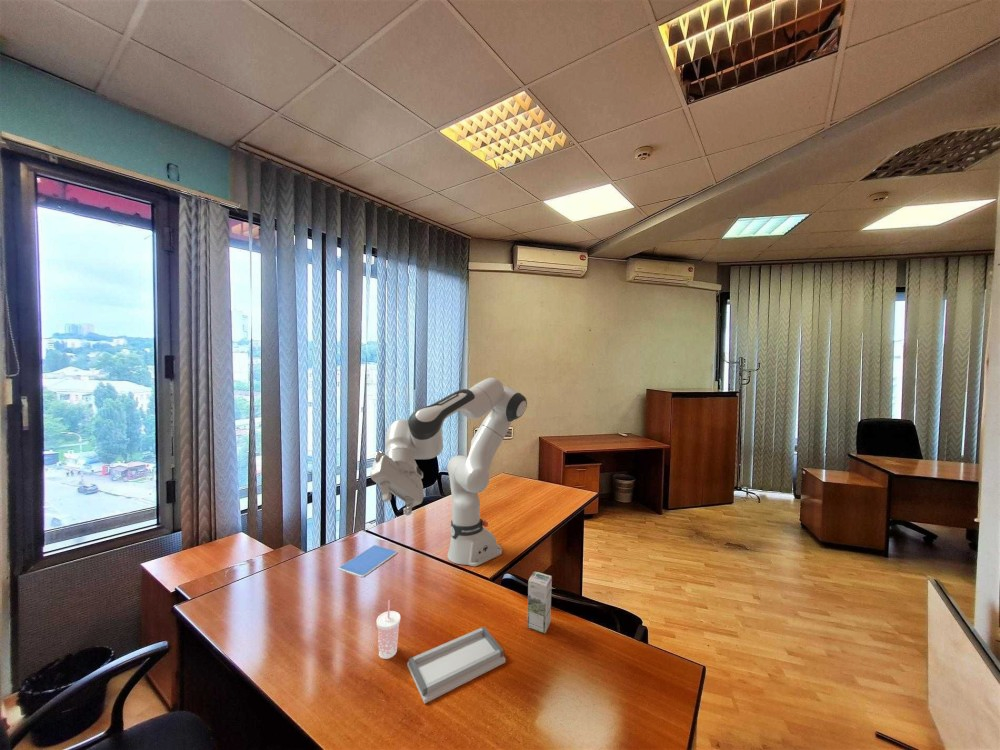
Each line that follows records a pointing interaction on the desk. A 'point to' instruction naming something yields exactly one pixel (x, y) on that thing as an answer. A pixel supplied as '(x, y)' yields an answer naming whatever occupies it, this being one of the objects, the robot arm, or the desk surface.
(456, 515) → the robot arm
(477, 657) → the rectangular tray
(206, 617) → the desk surface
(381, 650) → the beverage cup
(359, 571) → the tablet computer
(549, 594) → the syrup box
